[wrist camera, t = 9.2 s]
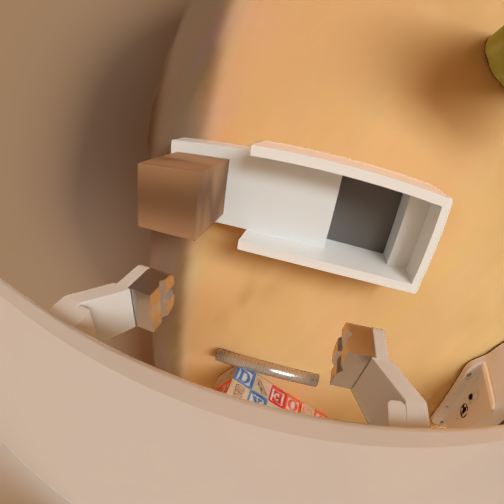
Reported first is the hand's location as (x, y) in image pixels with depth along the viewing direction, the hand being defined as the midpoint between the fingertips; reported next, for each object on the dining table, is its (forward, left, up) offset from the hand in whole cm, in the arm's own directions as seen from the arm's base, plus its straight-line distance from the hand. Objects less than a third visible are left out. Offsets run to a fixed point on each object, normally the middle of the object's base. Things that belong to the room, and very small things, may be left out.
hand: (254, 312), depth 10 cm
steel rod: (-23, -1, -17) cm, 29 cm away
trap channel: (0, 0, -17) cm, 17 cm away
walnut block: (0, +9, -15) cm, 17 cm away
